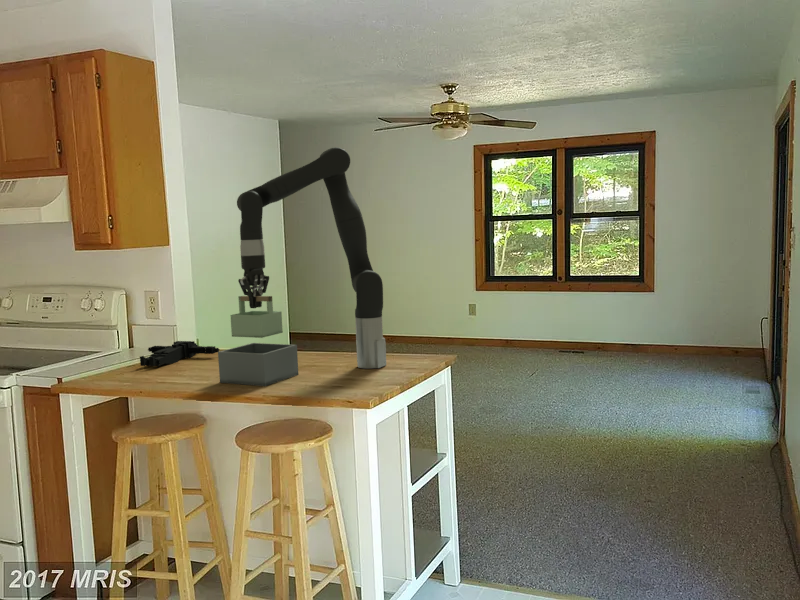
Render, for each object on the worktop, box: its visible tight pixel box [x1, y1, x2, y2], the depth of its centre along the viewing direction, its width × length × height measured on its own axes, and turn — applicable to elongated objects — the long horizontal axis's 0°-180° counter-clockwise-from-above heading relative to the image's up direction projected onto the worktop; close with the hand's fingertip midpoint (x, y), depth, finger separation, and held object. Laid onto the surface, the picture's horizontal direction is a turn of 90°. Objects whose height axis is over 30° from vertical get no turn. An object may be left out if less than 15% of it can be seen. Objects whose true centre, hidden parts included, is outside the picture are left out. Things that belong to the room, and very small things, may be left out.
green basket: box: [230, 295, 283, 339], centre depth 232 cm, size 12×11×12 cm
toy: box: [139, 340, 220, 367], centre depth 272 cm, size 31×6×30 cm
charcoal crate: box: [217, 342, 299, 387], centre depth 234 cm, size 18×18×10 cm
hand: (255, 307), depth 232 cm, fingers closed on green basket
